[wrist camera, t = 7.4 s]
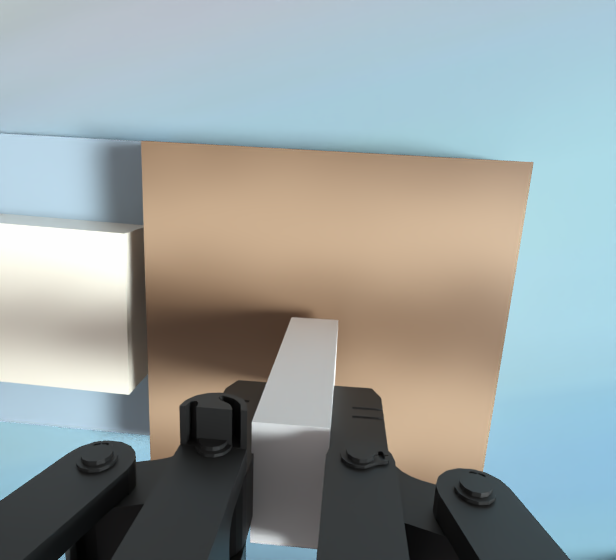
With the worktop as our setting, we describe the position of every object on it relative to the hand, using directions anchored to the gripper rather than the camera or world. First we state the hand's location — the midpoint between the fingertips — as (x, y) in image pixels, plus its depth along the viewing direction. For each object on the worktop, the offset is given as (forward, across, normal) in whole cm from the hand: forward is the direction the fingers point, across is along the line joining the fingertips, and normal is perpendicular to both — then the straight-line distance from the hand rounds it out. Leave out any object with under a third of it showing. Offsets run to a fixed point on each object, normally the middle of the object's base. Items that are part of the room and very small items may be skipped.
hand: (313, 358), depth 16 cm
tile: (+3, +10, -1) cm, 10 cm away
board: (+4, 0, 0) cm, 4 cm away
